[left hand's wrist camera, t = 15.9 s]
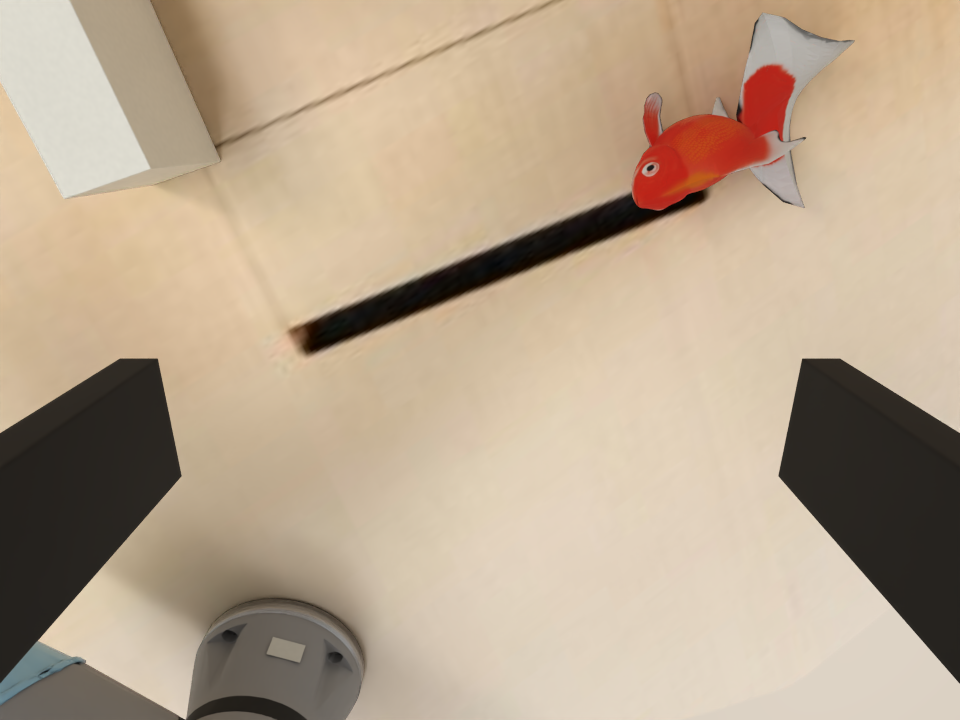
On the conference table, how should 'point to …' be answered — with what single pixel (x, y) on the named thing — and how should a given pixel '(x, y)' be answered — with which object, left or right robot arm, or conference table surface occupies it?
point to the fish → (737, 123)
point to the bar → (100, 94)
